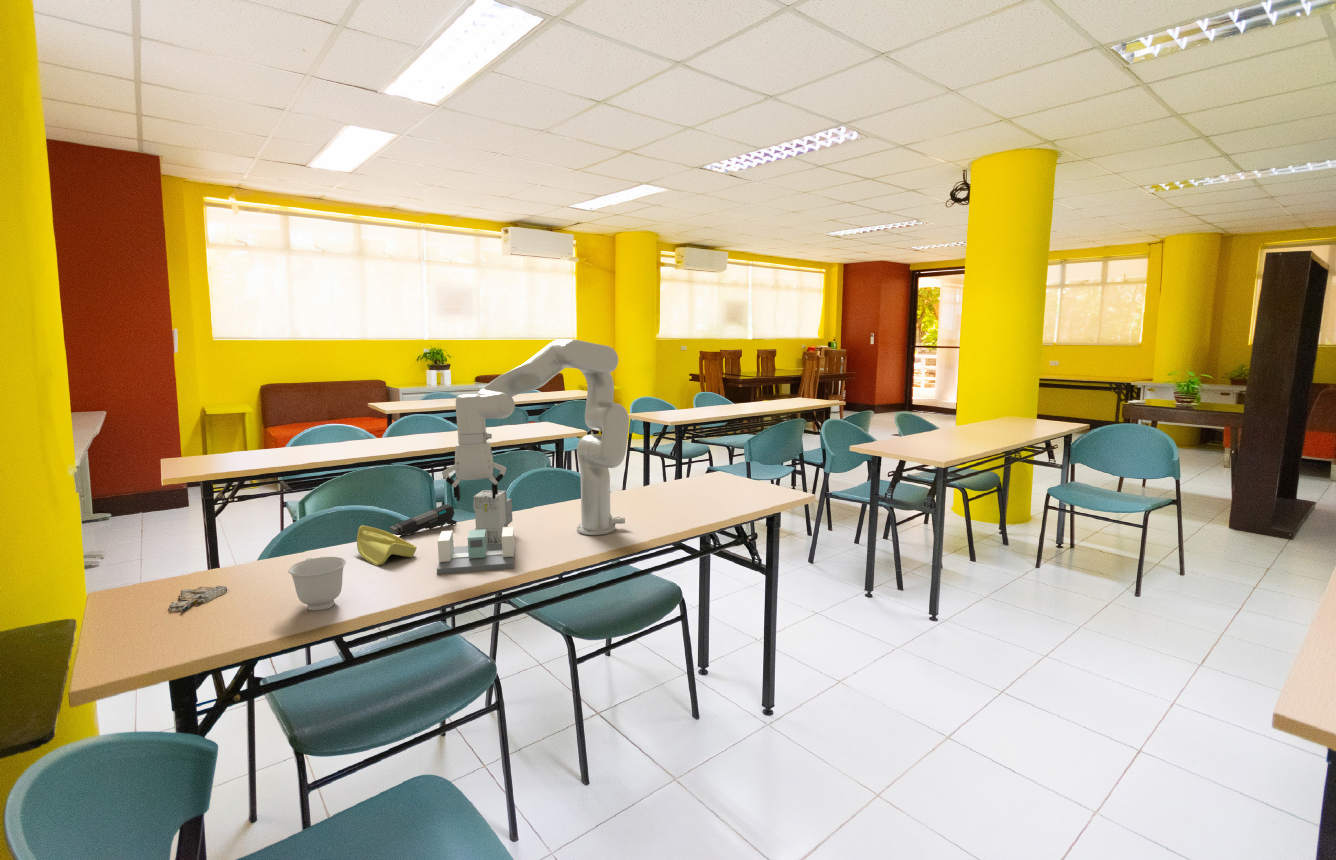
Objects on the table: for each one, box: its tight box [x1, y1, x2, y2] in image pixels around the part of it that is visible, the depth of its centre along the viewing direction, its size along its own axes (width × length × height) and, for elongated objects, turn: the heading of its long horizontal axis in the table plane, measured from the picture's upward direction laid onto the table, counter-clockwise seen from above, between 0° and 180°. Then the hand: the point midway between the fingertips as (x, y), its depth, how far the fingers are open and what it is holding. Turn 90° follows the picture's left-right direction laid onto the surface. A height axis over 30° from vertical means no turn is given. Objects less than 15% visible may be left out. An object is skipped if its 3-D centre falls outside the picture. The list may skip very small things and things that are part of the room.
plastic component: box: [356, 524, 417, 566], centre depth 186 cm, size 20×7×10 cm
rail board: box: [436, 526, 516, 575], centre depth 181 cm, size 20×18×8 cm
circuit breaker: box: [472, 489, 513, 544], centre depth 201 cm, size 8×14×15 cm, turn 174°
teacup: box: [287, 556, 347, 611], centre depth 151 cm, size 12×15×10 cm
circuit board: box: [168, 585, 228, 614], centre depth 154 cm, size 12×15×2 cm
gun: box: [389, 504, 458, 536], centre depth 208 cm, size 4×20×10 cm, turn 134°
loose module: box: [467, 529, 487, 559], centre depth 180 cm, size 4×7×6 cm, turn 13°
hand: (476, 498), depth 179 cm, fingers open, 9 cm apart
